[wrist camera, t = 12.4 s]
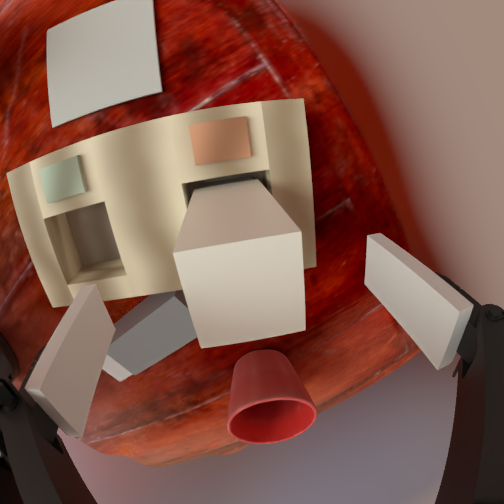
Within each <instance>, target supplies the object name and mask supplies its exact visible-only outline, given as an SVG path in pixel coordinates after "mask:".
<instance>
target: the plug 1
mask: <svg viewBox="0 0 504 504" xmlns="http://www.w3.org/2000/svg"><path fill="white" fill-rule="evenodd" d="M113 325H114V327H115V329H116V330H115V333H114V335H113V338H112V341H111V344H110V346H109V349H108V352H107V355H106V358H105V361H104V364H103V367H102V369H103V370H105V371H106V372H107V373H109V374H110V375H111V376H113V377H114V378H115V379H117V380H118V381H119V382H121V381H122V380H124V379H126V378H127V377H129V376H131V375H132V374H133V375H137V374H139V373H140V372H142V371H144V370H145V369H147V368H148V367H150V366H152V365H153V364H155V363H157V362H158V361H160V360H162V359H163V358H165V357H166V356H168V355H170V354H171V353H173V352H174V351H176V350H178V349H179V348H181V347H182V346H184V345H186V344H187V343H189V342H190V341H192V340H193V339H195V338H197V334H196V331H195V328H194V325H193V322H192V319H191V315H190V312H189V309H188V306H187V302H186V299H185V296H184V292H183V290H177V291H171V292H164V293H157V294H151V295H149V296H148V297H147V298H145V299H144V300H143V301H142V302H140V303H139V304H138V305H137V306H135V307H134V308H133V309H132V310H130V311H129V312H128V313H127V314H125V315H124V316H123V317H122V318H121V319H119V320H118V321H117V322H116V323H114V324H113Z"/></svg>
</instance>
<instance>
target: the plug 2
mask: <svg viewBox="0 0 504 504" xmlns="http://www.w3.org/2000/svg"><path fill="white" fill-rule="evenodd" d="M173 256H174V260H175V263H176V267H177V271H178V274H179V278H180V282H181V285H182V289H183V292H184V296H185V299H186V302H187V306H188V309H189V312H190V315H191V319H192V322H193V325H194V328H195V331H196V334H197V338H198V341H199V344H200V347H201V348H209V347H216V346H222V345H229V344H235V343H241V342H247V341H253V340H259V339H264V338H270V337H275V336H280V335H285V334H290V333H295V332H300V331H304V330H306V322H305V291H304V269H303V251H302V234H301V230H300V229H299V228H298V227H297V225H296V224H295V223H294V222H293V220H292V219H291V218H290V217H289V216H288V214H287V213H286V212H285V211H284V209H283V208H282V207H281V206H280V205H279V203H278V202H277V201H276V200H275V199H274V197H273V196H272V195H271V194H270V193H269V192H268V190H267V189H266V188H265V187H264V186H263V184H262V183H261V182H260V181H259V180H258V179H253V178H252V176H247V177H240V178H234V179H228V180H222V181H216V182H210V183H204V184H199V187H198V189H194V191H193V194H192V197H191V200H190V202H189V205H188V208H187V211H186V214H185V217H184V220H183V223H182V226H181V229H180V232H179V235H178V238H177V241H176V244H175V247H174V250H173Z"/></svg>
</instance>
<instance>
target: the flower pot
mask: <svg viewBox="0 0 504 504" xmlns="http://www.w3.org/2000/svg"><path fill="white" fill-rule="evenodd" d="M316 417H317V410H316V407H315V405H314V403H313V401H312V399H311V397H310V396H309V394H308V392H307V390H306V388H305V387H304V385H303V383H302V381H301V380H300V378H299V376H298V375H297V373H296V371H295V370H294V368H293V366H292V365H291V363H290V361H289V360H288V358H287V357H286V356H285V355H284V354H283V353H281V352H279V351H276V350H271V349H264V350H255V351H252V352H249V353H247V354H245V355H244V356H242V357H241V358H240V359H239V360H238V361H237V362H236V364H235V367H234V371H233V378H232V384H231V390H230V398H229V406H228V414H227V429H228V431H229V433H230V434H231V435H232V436H233V437H235V438H236V439H238V440H241V441H244V442H248V443H254V444H267V443H275V442H280V441H284V440H287V439H290V438H293V437H295V436H297V435H299V434H301V433H302V432H304V431H305V430H307V429H308V428H309V427H310V426H311V425H312V424H313V423H314V421H315V420H316Z"/></svg>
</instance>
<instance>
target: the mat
mask: <svg viewBox="0 0 504 504" xmlns="http://www.w3.org/2000/svg"><path fill="white" fill-rule="evenodd" d="M47 79H48V93H49V104H50V113H51V121H52V128H55V127H58V126H60V125H62V124H65V123H67V122H70V121H72V120H75V119H77V118H80V117H83V116H85V115H88V114H91V113H94V112H96V111H99V110H102V109H105V108H108V107H111V106H114V105H118V104H121V103H124V102H128V101H131V100H135V99H138V98H142V97H146V96H150V95H154V94H158V93H162V92H163V89H162V81H161V73H160V65H159V56H158V47H157V37H156V26H155V14H154V1H153V0H116V1H113V2H110V3H107V4H104V5H102V6H99V7H96V8H94V9H91V10H89V11H87V12H84V13H82V14H80V15H77V16H75V17H73V18H71V19H69V20H66V21H64V22H62V23H60V24H58V25H56V26H54V27H52V28H51V29H49V30H47Z"/></svg>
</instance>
